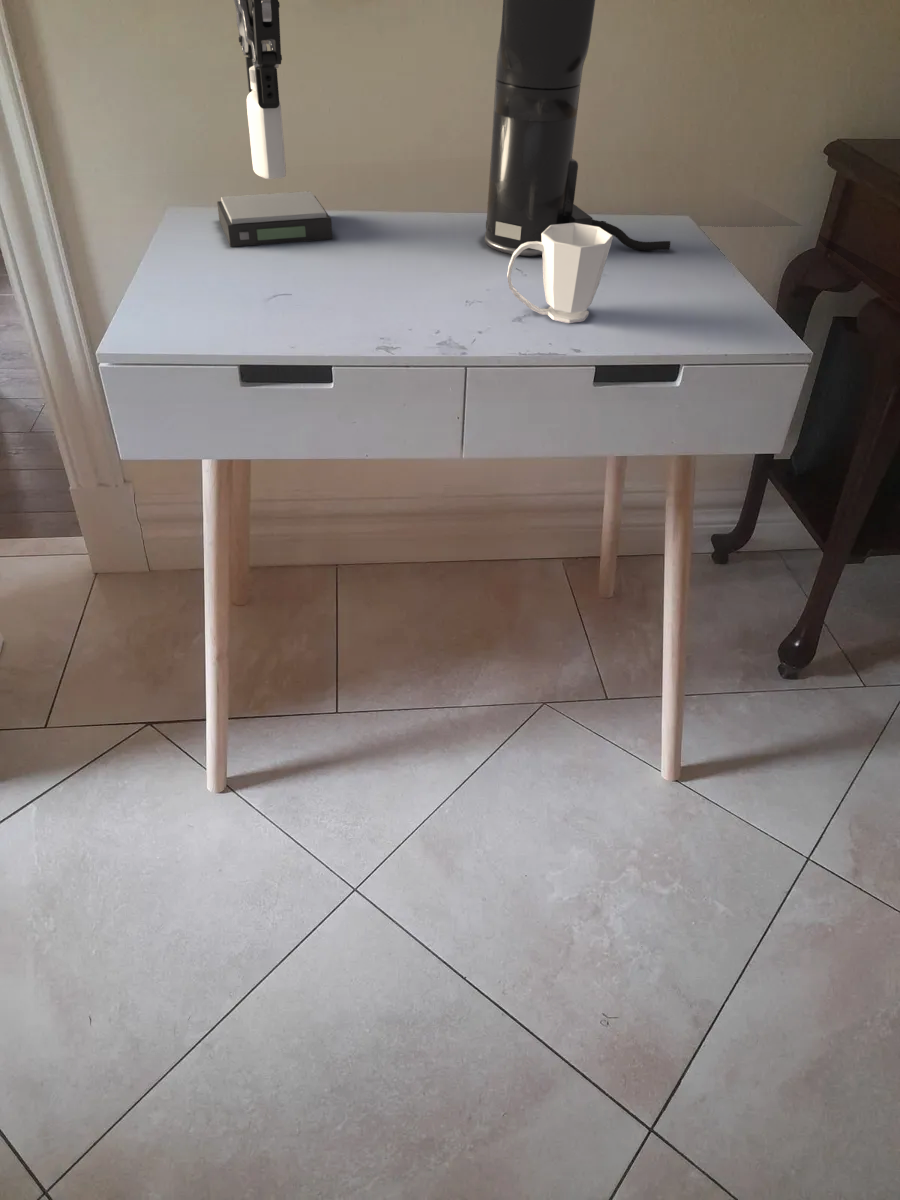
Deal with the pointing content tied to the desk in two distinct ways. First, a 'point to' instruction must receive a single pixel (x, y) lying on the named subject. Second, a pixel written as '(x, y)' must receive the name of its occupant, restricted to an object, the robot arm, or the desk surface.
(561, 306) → the cup
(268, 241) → the scale
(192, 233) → the desk surface
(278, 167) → the eye dropper bottle
